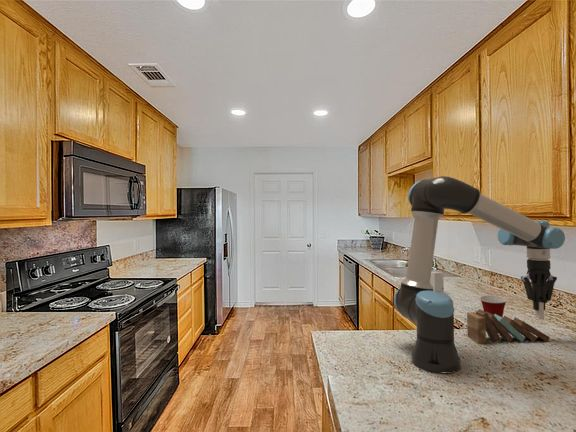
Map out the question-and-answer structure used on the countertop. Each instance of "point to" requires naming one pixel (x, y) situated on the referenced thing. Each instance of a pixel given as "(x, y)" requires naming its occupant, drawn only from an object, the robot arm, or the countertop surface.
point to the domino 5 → (532, 329)
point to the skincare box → (437, 281)
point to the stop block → (476, 327)
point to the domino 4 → (520, 329)
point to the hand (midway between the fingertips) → (539, 318)
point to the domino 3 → (510, 328)
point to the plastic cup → (493, 304)
